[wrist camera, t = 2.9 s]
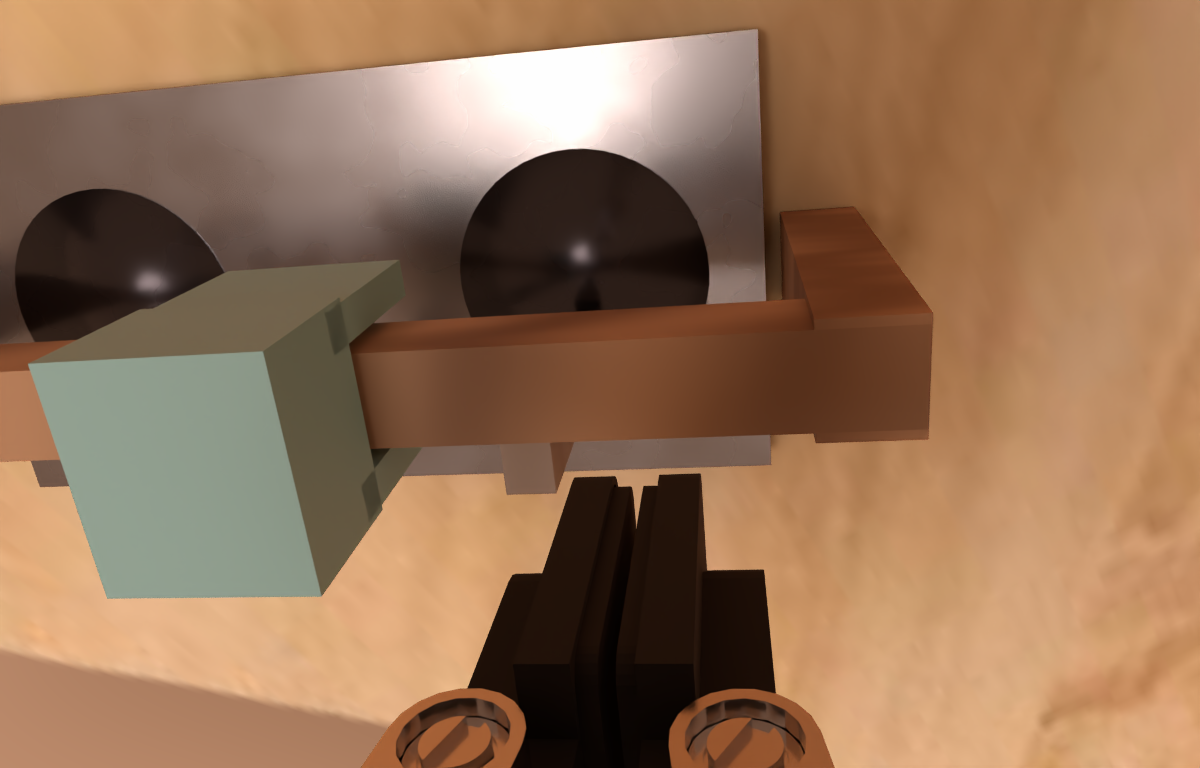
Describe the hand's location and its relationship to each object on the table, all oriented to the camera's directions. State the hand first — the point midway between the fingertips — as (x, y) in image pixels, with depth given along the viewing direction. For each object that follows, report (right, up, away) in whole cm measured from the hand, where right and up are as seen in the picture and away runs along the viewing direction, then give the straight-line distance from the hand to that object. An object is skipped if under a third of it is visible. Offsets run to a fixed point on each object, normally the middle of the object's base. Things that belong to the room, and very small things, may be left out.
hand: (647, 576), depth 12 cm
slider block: (-6, +5, +14) cm, 16 cm away
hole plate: (-8, +6, +15) cm, 18 cm away
